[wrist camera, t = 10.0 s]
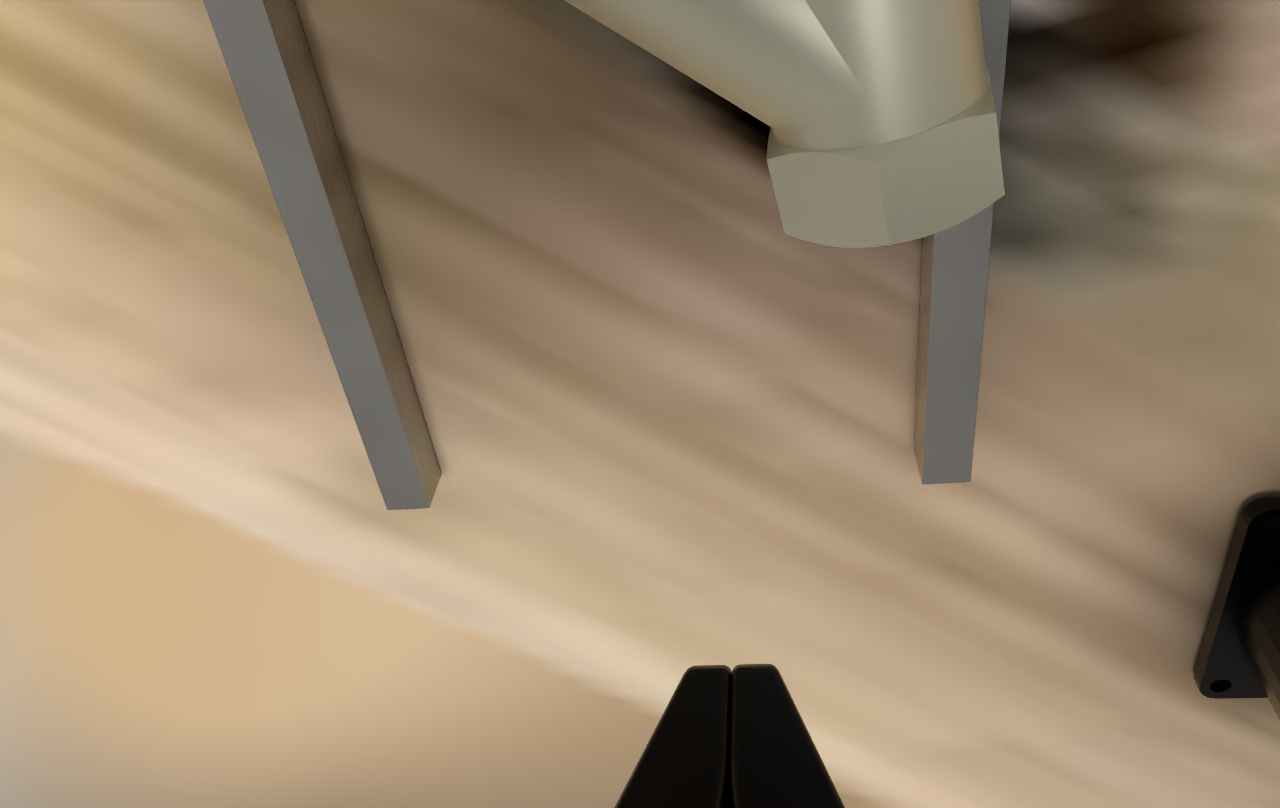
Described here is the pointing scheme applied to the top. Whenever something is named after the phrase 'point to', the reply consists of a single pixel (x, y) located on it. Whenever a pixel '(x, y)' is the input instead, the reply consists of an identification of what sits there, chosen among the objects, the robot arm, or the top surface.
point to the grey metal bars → (359, 311)
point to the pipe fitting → (844, 104)
